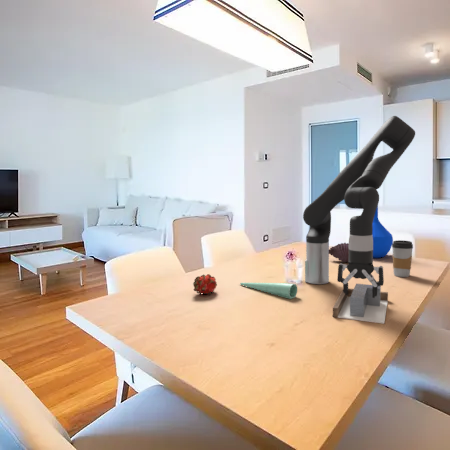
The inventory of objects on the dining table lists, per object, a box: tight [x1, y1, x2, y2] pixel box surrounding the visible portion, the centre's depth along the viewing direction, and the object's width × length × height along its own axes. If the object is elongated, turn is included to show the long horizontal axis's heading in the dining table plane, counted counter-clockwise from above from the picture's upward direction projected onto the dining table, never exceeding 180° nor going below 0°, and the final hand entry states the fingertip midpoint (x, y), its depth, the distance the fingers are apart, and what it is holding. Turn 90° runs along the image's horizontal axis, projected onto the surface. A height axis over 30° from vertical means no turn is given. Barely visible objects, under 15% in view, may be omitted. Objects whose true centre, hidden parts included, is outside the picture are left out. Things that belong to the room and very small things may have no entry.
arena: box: [332, 287, 389, 318], centre depth 122 cm, size 15×22×3 cm, turn 154°
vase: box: [372, 205, 394, 259], centre depth 199 cm, size 18×18×30 cm
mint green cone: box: [239, 282, 298, 300], centre depth 144 cm, size 5×6×27 cm
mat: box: [337, 296, 389, 324], centre depth 121 cm, size 14×21×1 cm, turn 154°
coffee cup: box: [391, 239, 414, 278], centre depth 160 cm, size 8×8×15 cm
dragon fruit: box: [192, 273, 218, 295], centre depth 143 cm, size 8×8×12 cm
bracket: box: [350, 283, 382, 317], centre depth 120 cm, size 16×8×6 cm, turn 154°
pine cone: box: [329, 242, 349, 263], centre depth 189 cm, size 18×10×10 cm, turn 51°
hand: (359, 295), depth 122 cm, fingers open, 8 cm apart
